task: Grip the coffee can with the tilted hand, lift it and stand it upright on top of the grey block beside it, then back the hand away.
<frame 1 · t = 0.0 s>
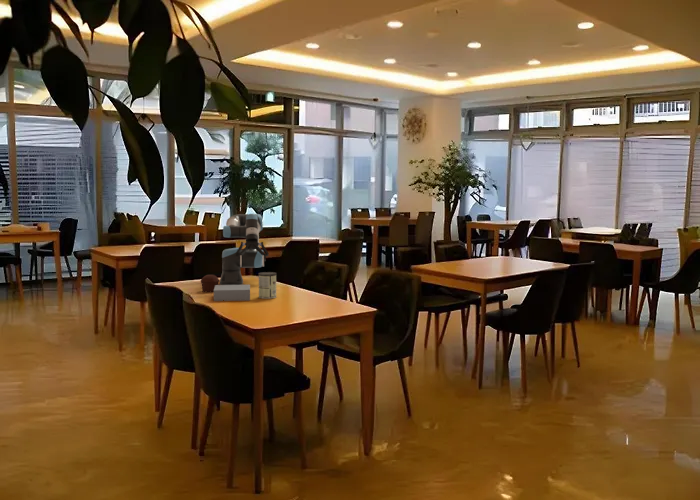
hand: (252, 265, 408), 15 cm above the table, tool tilted 35°, fingers open, 13 cm apart
grey block: (232, 297, 382), on the table
muffin: (210, 291, 404), on the table
coffee can: (267, 297, 385), on the table
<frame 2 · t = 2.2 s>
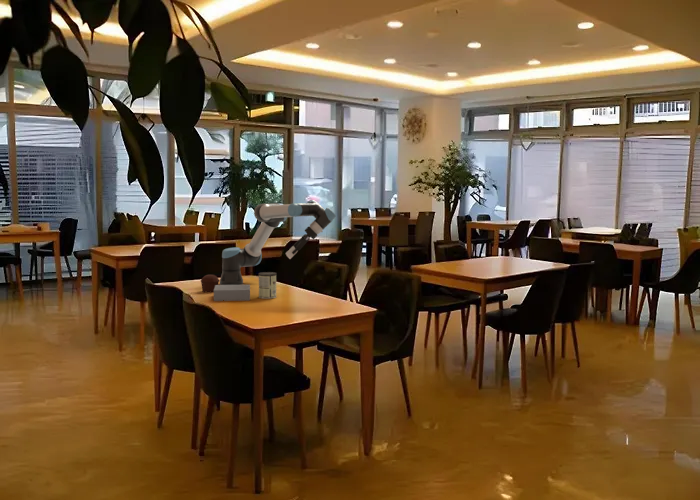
hand: (287, 256, 384), 24 cm above the table, tool tilted 45°, fingers open, 13 cm apart
nothing on the table moved.
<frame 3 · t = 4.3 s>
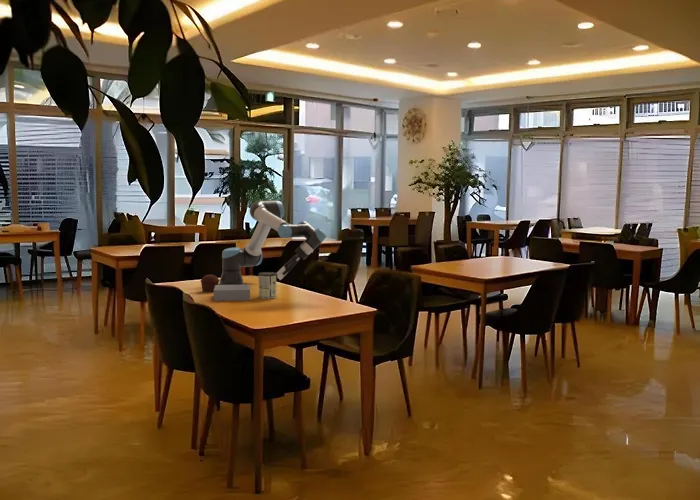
hand: (278, 277, 384), 12 cm above the table, tool tilted 45°, fingers open, 13 cm apart
nothing on the table moved.
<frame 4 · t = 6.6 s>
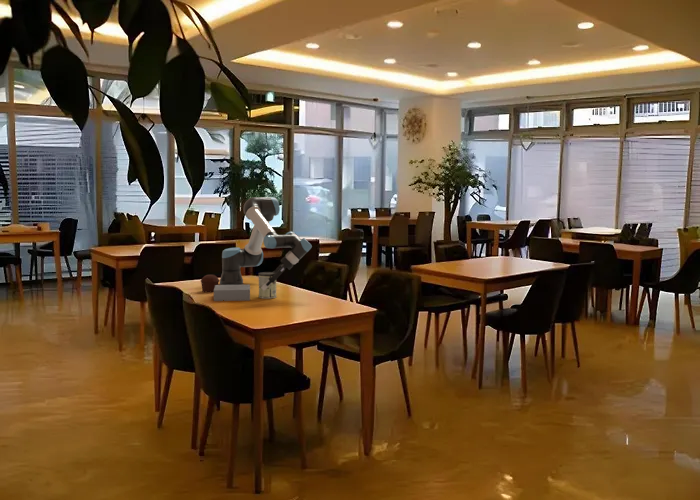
hand: (262, 287, 384), 5 cm above the table, tool tilted 45°, fingers closed on coffee can, 10 cm apart
coffee can: (267, 297, 385), on the table, touching gripper
everything else where it was.
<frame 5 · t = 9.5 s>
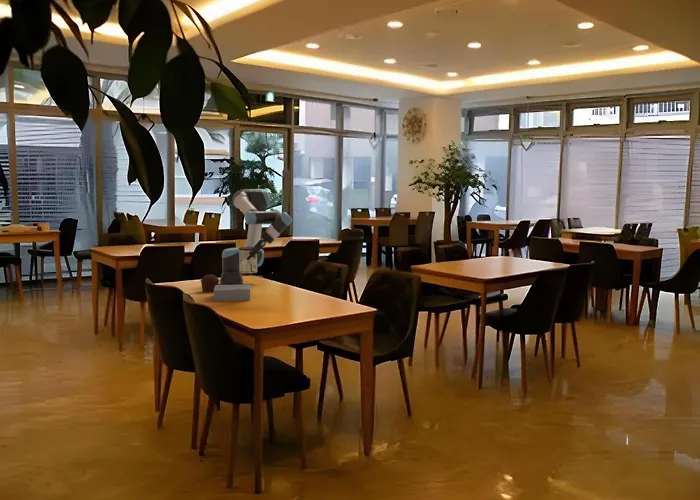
hand: (242, 262, 379), 20 cm above the table, tool tilted 45°, fingers closed on coffee can, 10 cm apart
coffee can: (248, 272, 380), point 15 cm above the table, touching gripper
everything else where it was.
when the fingers open (13 cm above the table, at t = 12.5 s): coffee can drops 1 cm, resting on grey block.
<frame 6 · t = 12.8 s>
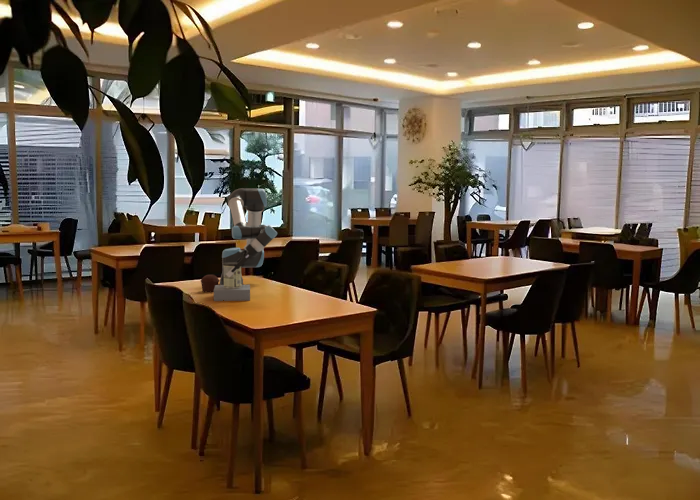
hand: (228, 274, 380), 14 cm above the table, tool tilted 45°, fingers open, 13 cm apart
coffee can: (232, 287, 381), point 6 cm above the table, touching grey block
everything else where it was.
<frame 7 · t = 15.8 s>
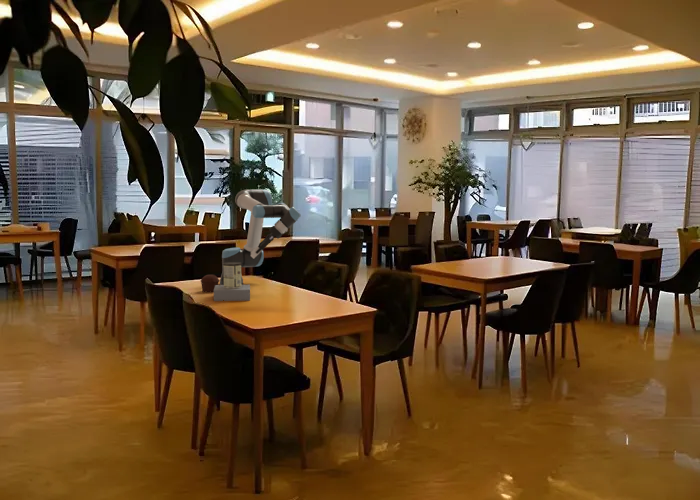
hand: (251, 255, 382), 24 cm above the table, tool tilted 45°, fingers open, 13 cm apart
nothing on the table moved.
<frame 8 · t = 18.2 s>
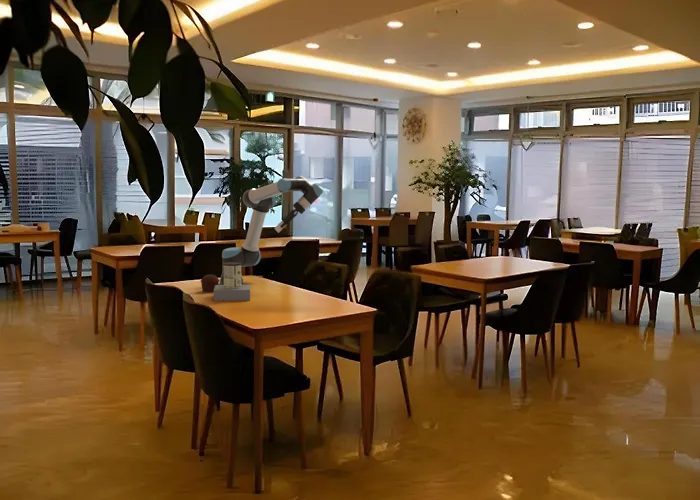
hand: (276, 230, 397), 38 cm above the table, tool tilted 45°, fingers open, 13 cm apart
nothing on the table moved.
at the end: coffee can inside the target area on the grey block (0.3 cm from its centre), point 5.8 cm above the grey block's base; coffee can tilted 0°; the gripper is holding nothing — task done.
